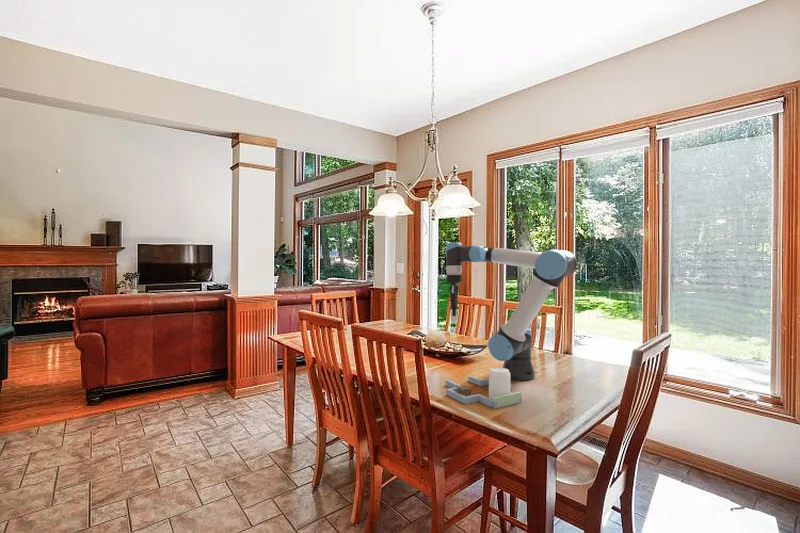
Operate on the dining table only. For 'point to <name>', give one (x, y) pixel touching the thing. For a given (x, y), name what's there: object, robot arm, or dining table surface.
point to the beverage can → (499, 382)
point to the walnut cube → (464, 390)
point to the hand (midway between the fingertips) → (454, 322)
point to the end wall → (507, 399)
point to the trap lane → (473, 398)
